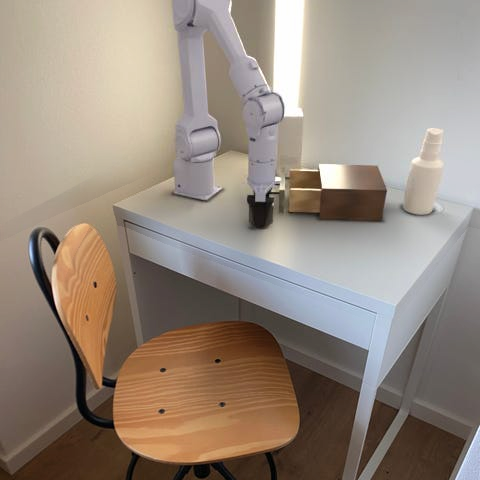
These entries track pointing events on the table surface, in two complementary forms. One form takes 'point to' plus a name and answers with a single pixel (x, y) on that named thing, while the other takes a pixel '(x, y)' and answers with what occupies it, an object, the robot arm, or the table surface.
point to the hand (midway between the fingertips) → (260, 218)
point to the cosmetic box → (289, 141)
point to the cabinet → (351, 192)
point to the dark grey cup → (269, 218)
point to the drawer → (300, 191)
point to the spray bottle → (425, 175)
